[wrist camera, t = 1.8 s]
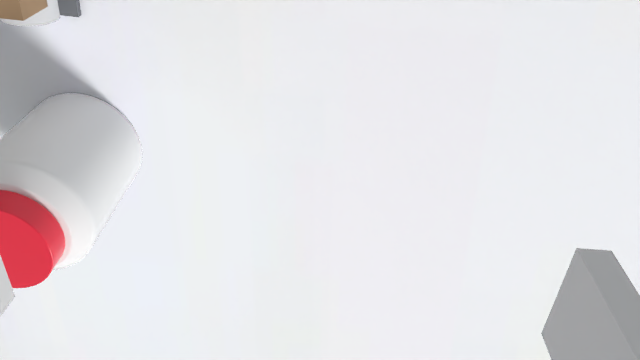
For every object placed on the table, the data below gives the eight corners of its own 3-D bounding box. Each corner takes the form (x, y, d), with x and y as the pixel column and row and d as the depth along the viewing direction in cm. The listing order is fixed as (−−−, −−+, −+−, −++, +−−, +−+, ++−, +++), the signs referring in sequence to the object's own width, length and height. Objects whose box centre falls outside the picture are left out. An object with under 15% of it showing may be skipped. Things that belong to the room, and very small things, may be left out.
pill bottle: (113, 81, 34) (26, 175, 25) (160, 181, 38) (100, 293, 29) (7, 104, 35) (-114, 201, 26) (63, 198, 39) (-25, 311, 30)
